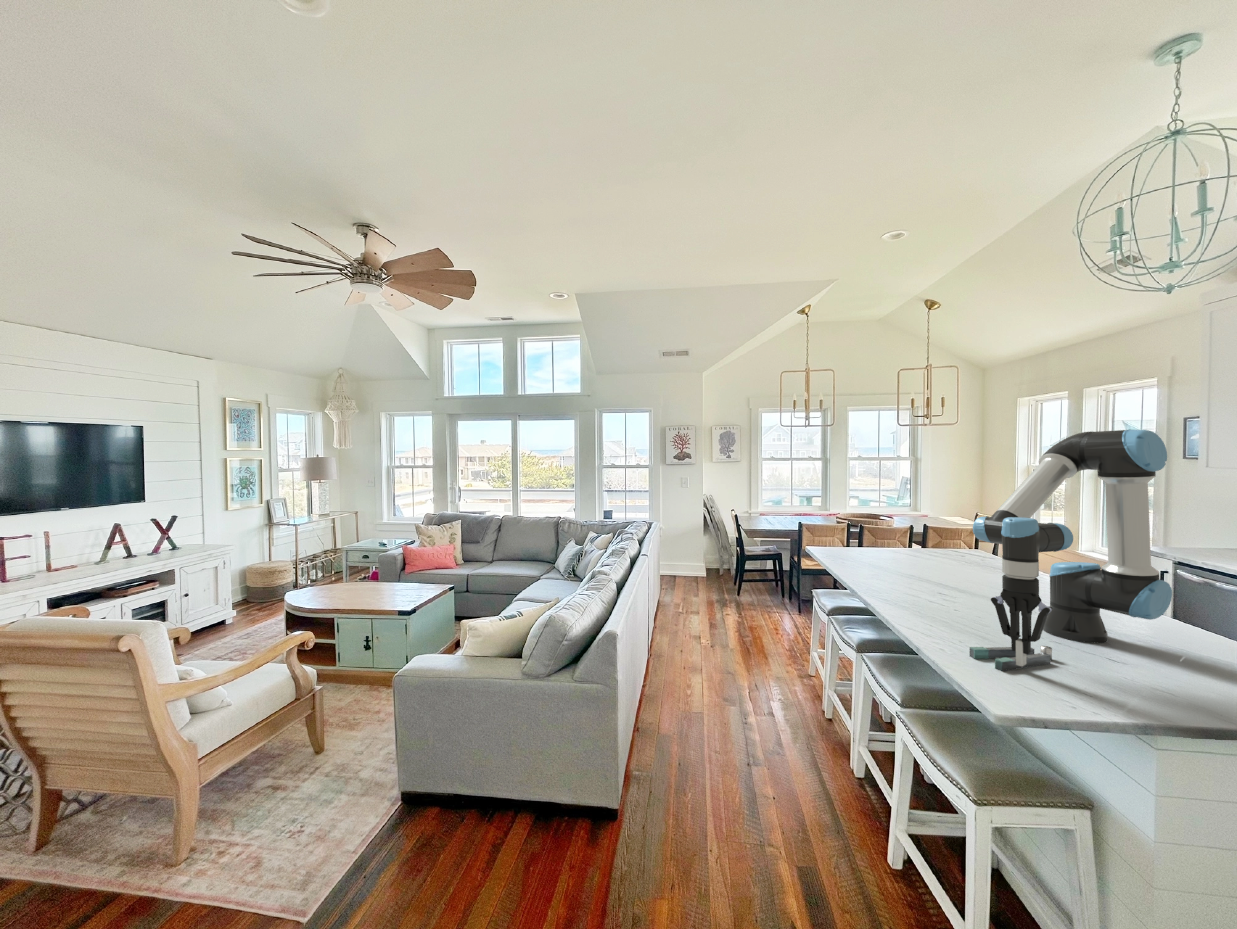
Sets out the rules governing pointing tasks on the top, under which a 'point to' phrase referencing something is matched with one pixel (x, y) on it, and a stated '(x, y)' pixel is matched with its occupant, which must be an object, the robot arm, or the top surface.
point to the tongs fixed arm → (1001, 652)
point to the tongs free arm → (1031, 660)
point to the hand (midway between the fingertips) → (1021, 664)
